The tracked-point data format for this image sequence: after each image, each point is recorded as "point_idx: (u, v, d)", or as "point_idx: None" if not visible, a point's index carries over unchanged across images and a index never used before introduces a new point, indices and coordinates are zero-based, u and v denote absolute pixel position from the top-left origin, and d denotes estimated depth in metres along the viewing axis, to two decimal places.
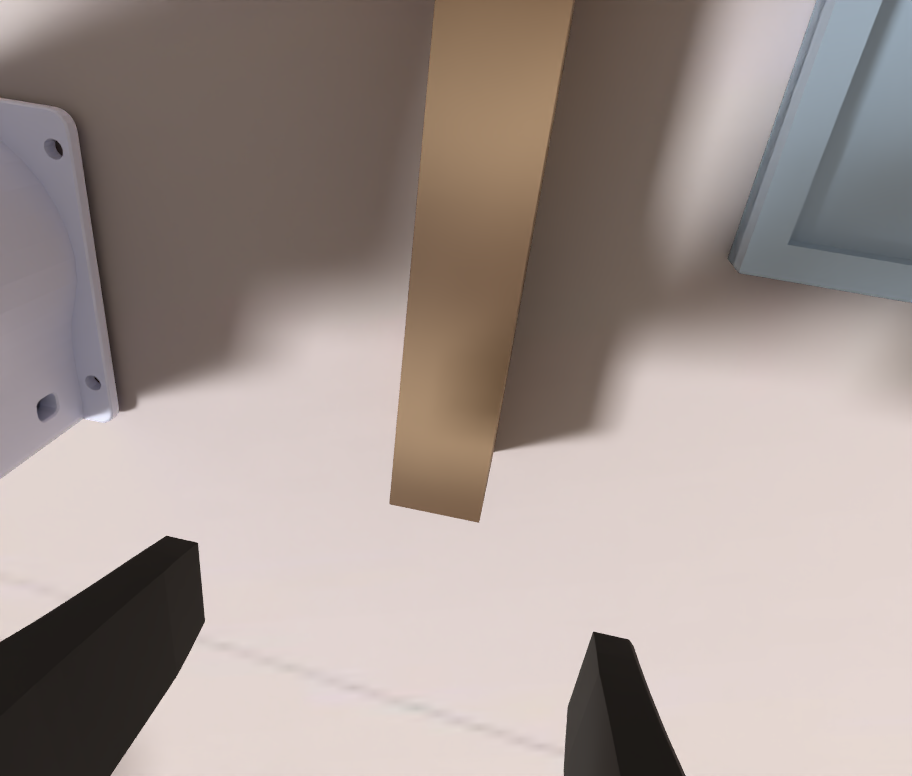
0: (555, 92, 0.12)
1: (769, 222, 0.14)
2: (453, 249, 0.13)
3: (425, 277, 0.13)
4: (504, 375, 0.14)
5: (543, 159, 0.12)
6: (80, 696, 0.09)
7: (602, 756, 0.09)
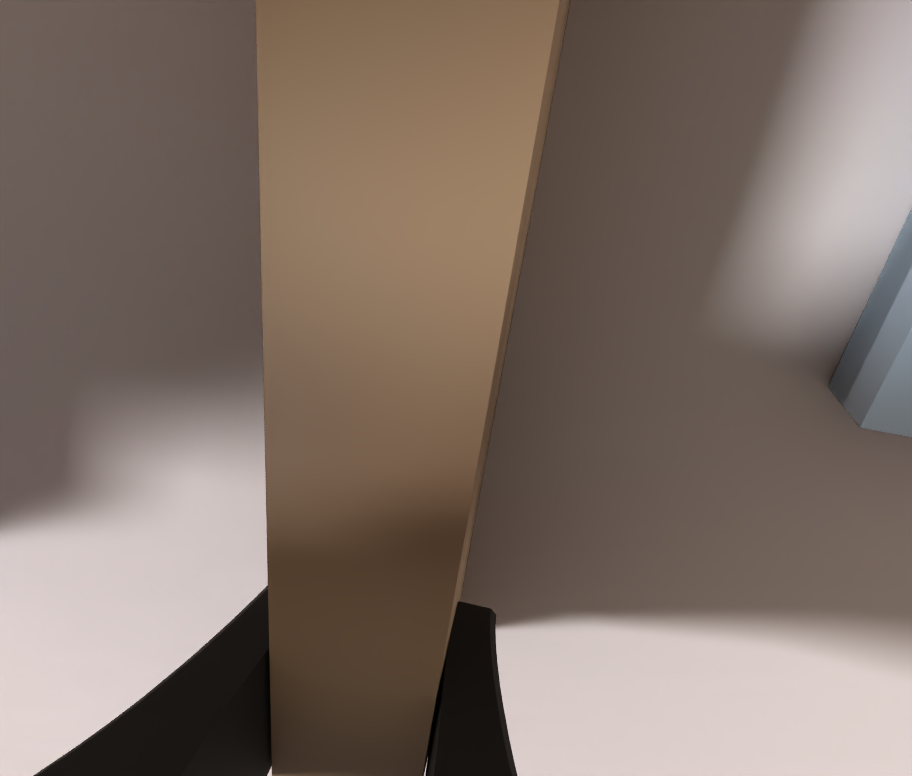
0: (534, 127, 0.05)
1: None
2: (340, 421, 0.07)
3: (293, 464, 0.07)
4: (447, 623, 0.08)
5: (510, 265, 0.06)
6: (237, 736, 0.09)
7: (438, 716, 0.09)
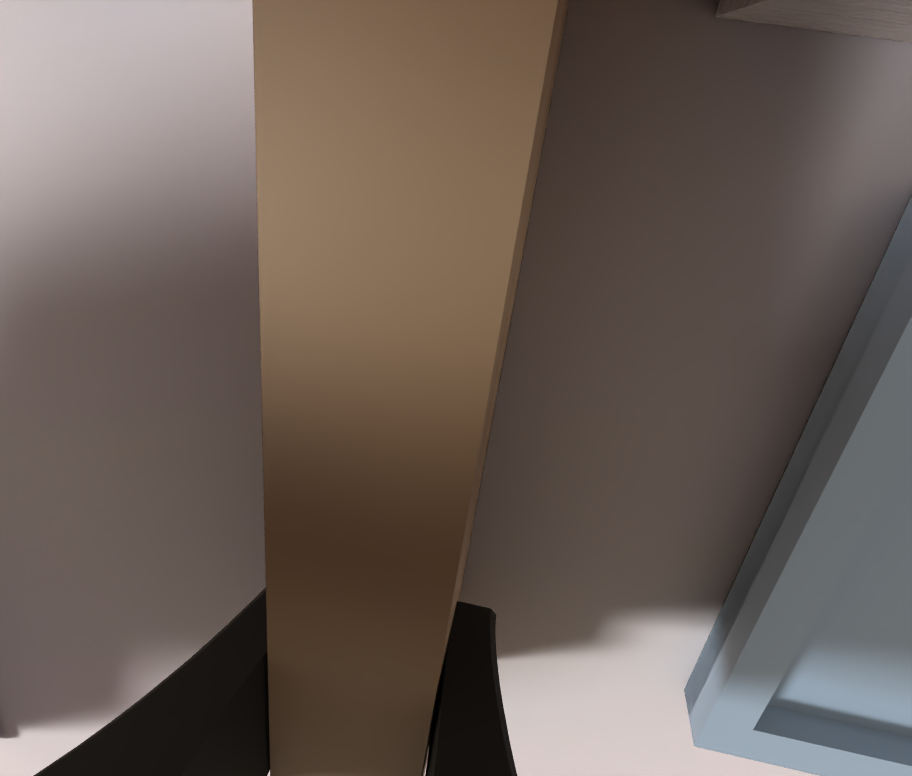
0: (511, 252, 0.06)
1: (729, 708, 0.11)
2: (334, 499, 0.07)
3: (291, 536, 0.08)
4: (436, 679, 0.08)
5: (490, 369, 0.06)
6: (238, 736, 0.09)
7: (438, 716, 0.09)
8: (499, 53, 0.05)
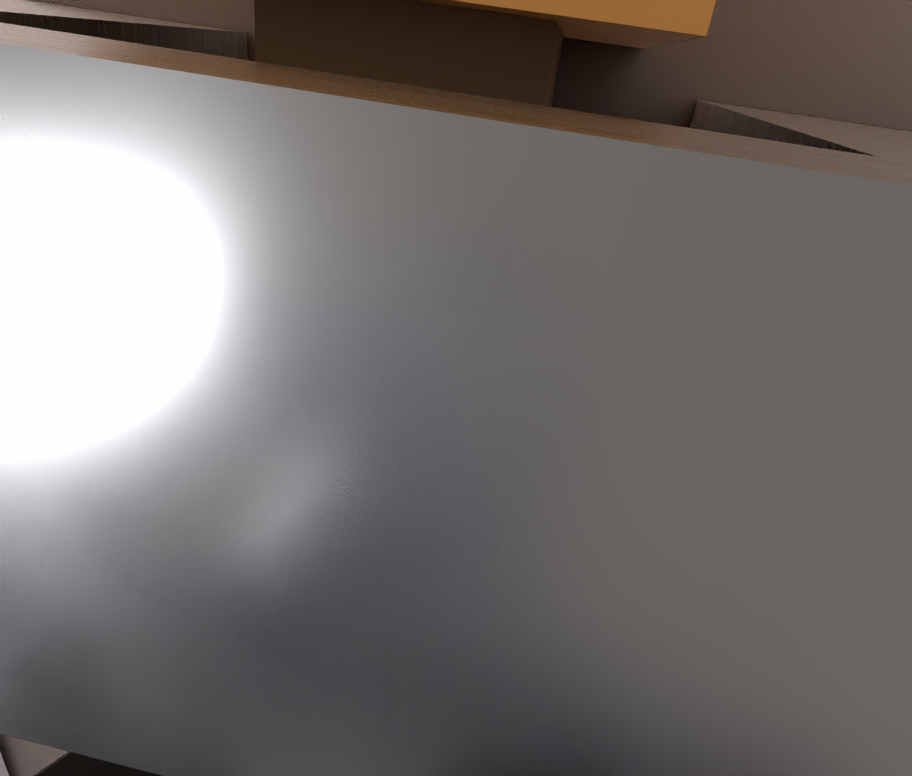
0: None
1: None
2: None
3: None
4: None
5: None
6: None
7: None
8: None
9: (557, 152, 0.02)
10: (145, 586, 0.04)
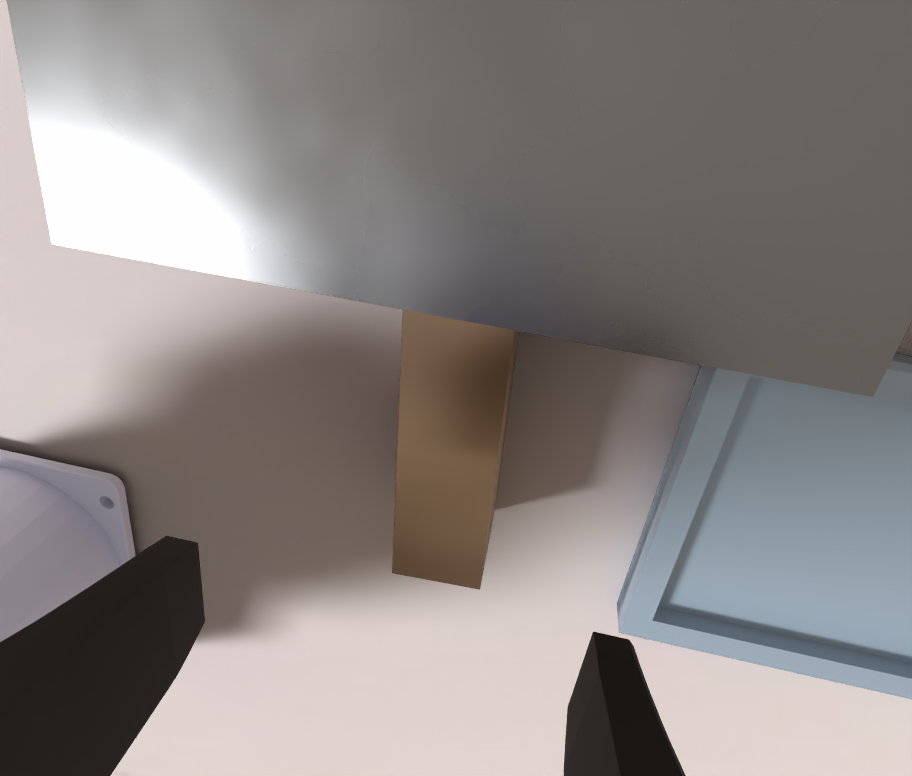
0: None
1: (637, 607, 0.19)
2: (440, 341, 0.14)
3: (415, 366, 0.14)
4: (496, 454, 0.15)
5: None
6: (80, 696, 0.09)
7: (602, 756, 0.09)
8: None
9: None
10: (413, 171, 0.09)
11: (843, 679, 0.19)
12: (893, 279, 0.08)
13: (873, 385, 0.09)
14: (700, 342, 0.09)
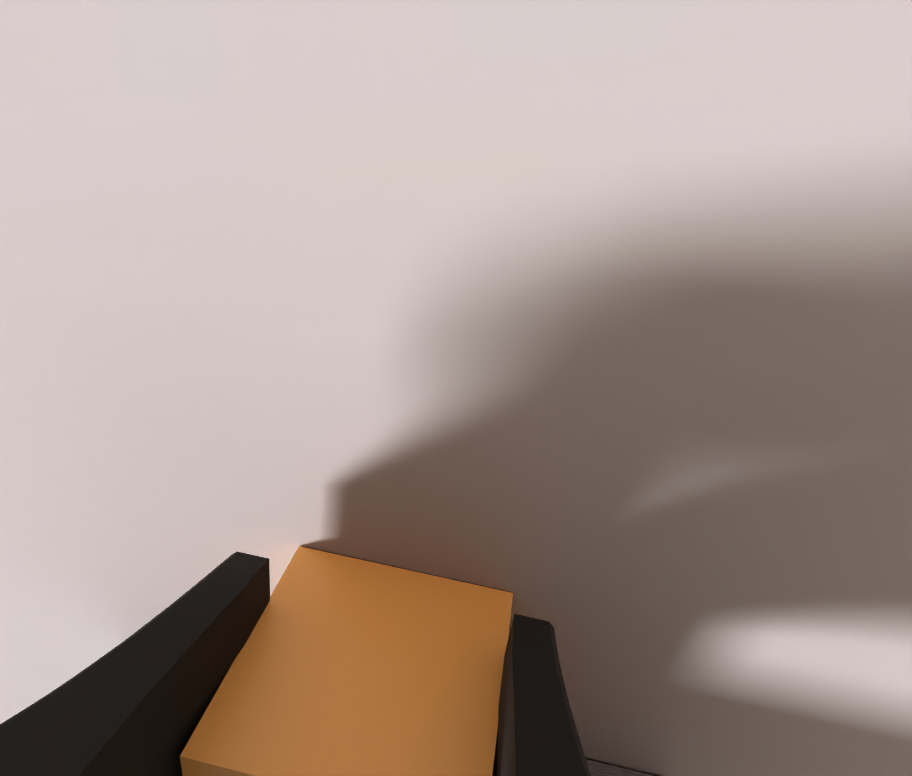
0: None
1: None
2: None
3: None
4: None
5: None
6: (169, 719, 0.09)
7: (507, 733, 0.09)
8: None
9: None
10: None
11: None
12: None
13: None
14: None
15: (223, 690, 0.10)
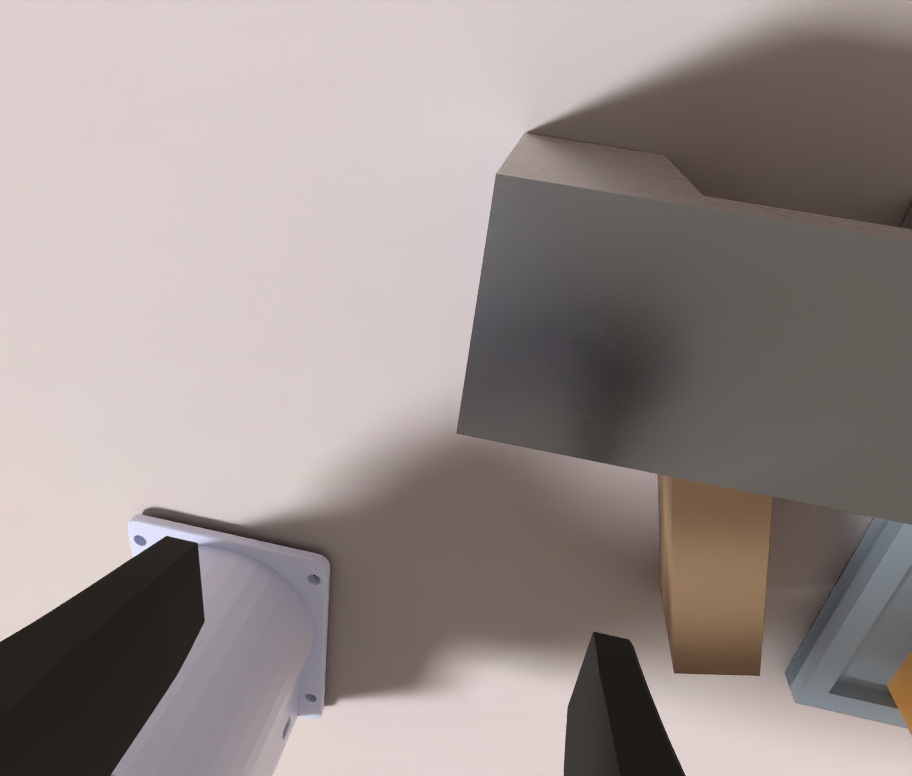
0: None
1: (816, 681, 0.21)
2: None
3: (685, 504, 0.16)
4: (766, 562, 0.17)
5: None
6: (80, 697, 0.09)
7: (602, 756, 0.09)
8: None
9: None
10: (802, 400, 0.11)
11: None
12: None
13: None
14: None
15: None
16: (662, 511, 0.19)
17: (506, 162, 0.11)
